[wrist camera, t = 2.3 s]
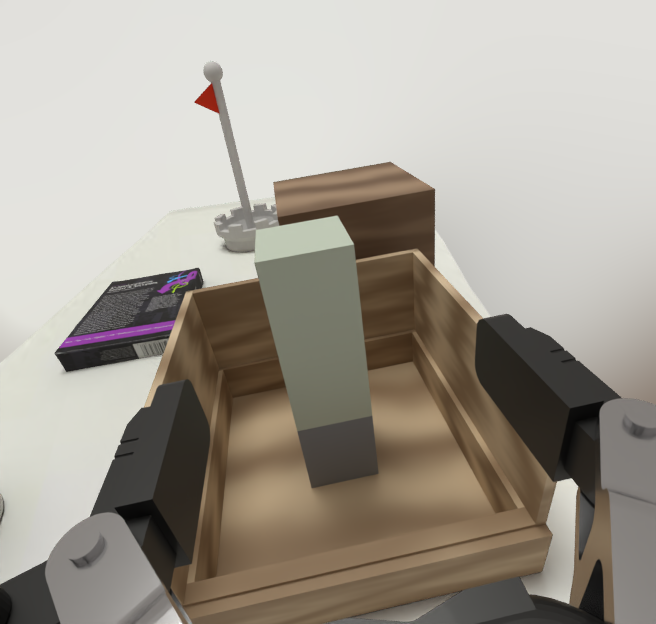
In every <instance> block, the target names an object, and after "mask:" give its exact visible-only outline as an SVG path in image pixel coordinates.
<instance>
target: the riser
mask: <svg viewBox="0 0 656 624" xmlns="http://www.w3.org/2000/svg"><path fill="white" fill-rule="evenodd" d="M274 192H275V200H276V209H277V217H278V222H279V226H282V225H288V224H293V223H299V222H304V221H310V220H315V219H321V218H327V217H332V216H338V217H339V219H340V221H341V223H342V224H343V226H344V228H345V230H346V231H347V233H348V235H349V237H350V238H351V240H352V242H353V244H354V249H355V258H356V260H358V259H363V258H369V257H374V256H379V255H385V254H390V253H395V252H401V251H406V250H412V249H418V250H419V251H420V252H421V253H422V254H423V255H424V256H425V257H426V258H427V259H428V260H429V262H430V263H431V264H432V265H433V266H434V263H435V189H434V188H432V187H430V186H429V185H427V184H426V183H424V182H422V181H420V180H419V179H417V178H416V177H414V176H413V175H411V174H409V173H408V172H406V171H404V170H403V169H401V168H399V167H398V166H396V165H394V164H393V163H391V162H387V163H381V164H376V165H370V166H364V167H359V168H353V169H347V170H342V171H335V172H329V173H324V174H318V175H312V176H306V177H301V178H295V179H289V180H283V181H278V182H274Z"/></svg>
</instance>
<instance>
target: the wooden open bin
mask: <svg viewBox="0 0 656 624" xmlns="http://www.w3.org/2000/svg"><path fill="white" fill-rule="evenodd" d="M356 268H357V277H358V286H359V296H360V305H361V314H362V324H363V333H364V342H365V352H366V361H367V370H368V379H369V389H370V398H371V407H372V417H373V426H374V435H375V445H376V454H377V463H378V472H379V474H375V475H371V476H366V477H362V478H357V479H352V480H348V481H343V482H339V483H334V484H329V485H325V486H320V487H316V488H311V484H310V480H309V476H308V472H307V468H306V464H305V460H304V456H303V452H302V448H301V444H300V440H299V436H298V432H297V428H296V425H295V421H294V417H293V413H292V409H291V405H290V401H289V397H288V393H287V389H286V385H285V381H284V377H283V373H282V369H281V365H280V361H279V358H278V354H277V350H276V346H275V342H274V338H273V334H272V330H271V326H270V322H269V318H268V314H267V310H266V306H265V302H264V298H263V294H262V290H261V287H260V283H259V279H258V278H256V279H251V280H245V281H240V282H235V283H229V284H224V285H218V286H213V287H208V288H202V289H197V290H192V291H186V293H185V296H184V299H183V302H182V304H181V307H180V310H179V312H178V315H177V318H176V321H175V323H174V326H173V329H172V332H171V334H170V337H169V340H168V343H167V345H166V348H165V351H164V354H163V356H162V359H161V362H160V365H159V367H158V370H157V373H156V376H155V378H154V381H153V384H152V387H151V389H150V392H149V395H148V398H147V400H146V403H145V406H144V408H145V407H150V406H151V403H152V400H153V397H154V394H155V392H156V389H157V387H158V386H159V385H162V384H167V383H171V382H176V381H181V380H186V379H188V380H190V381H191V383H192V385H193V387H194V389H195V392H196V394H197V396H198V399H199V401H200V403H201V406H202V408H203V411H204V413H205V415H206V418H207V420H208V424H209V428H210V447H209V454H208V460H207V467H206V473H205V480H204V487H203V493H202V500H201V507H200V513H199V520H198V527H197V533H196V540H195V546H194V553H193V560H192V564H190V565H185V566H181V567H177V568H174V572H173V578H172V583H171V588H172V589H173V591H174V592H175V594H176V596H177V597H178V599H179V601H180V602H181V604H182V606H183V607H184V609H185V610H186V612H187V614H188V615H189V617H190V619H191V620H192V622H193V624H323V623H327V622H332V621H336V620H340V619H344V618H348V617H353V616H357V615H361V614H365V613H369V612H374V611H378V610H382V609H386V608H391V607H395V606H399V605H403V604H407V603H412V602H416V601H420V600H424V599H428V598H433V597H437V596H441V595H445V594H450V593H454V592H458V591H462V590H465V589H469V588H473V587H477V586H481V585H486V584H490V583H494V582H498V581H502V580H506V579H510V578H514V577H521V576H525V575H530V574H534V573H538V572H542V570H543V567H544V563H545V560H546V557H547V553H548V550H549V546H550V543H551V539H552V536H553V534H552V533H551V531H550V530H549V528H548V527H547V525H546V521H547V517H548V513H549V510H550V506H551V502H552V498H553V495H554V491H555V487H556V483H557V481H556V482H553V481H552V480H551V479H550V477H549V476H548V474H547V473H546V472H545V470H544V469H543V468H542V466H541V465H540V464H539V462H538V461H537V460H536V458H535V457H534V456H533V454H532V453H531V451H530V450H529V449H528V447H527V446H526V445H525V443H524V442H523V441H522V439H521V438H520V437H519V435H518V434H517V433H516V431H515V430H514V428H513V427H512V426H511V424H510V423H509V422H508V420H507V419H506V418H505V416H504V415H503V414H502V412H501V411H500V410H499V408H498V407H497V406H496V404H495V403H494V401H493V400H492V399H491V397H490V396H489V395H488V393H487V392H486V391H485V389H484V388H483V387H482V385H481V384H480V382H479V380H478V377H477V374H476V370H475V348H476V329H477V323H478V321H479V320H480V319H483V318H482V317H481V316H480V315H479V314H478V312H477V311H476V310H475V309H474V308H473V307H472V306H471V305H470V304H469V303H468V302H467V301H466V300H465V299H464V298H463V297H462V296H461V294H460V293H459V292H458V291H457V290H456V289H455V288H454V287H453V286H452V285H451V284H450V283H449V282H448V281H447V280H446V279H445V277H444V276H443V275H442V274H441V273H440V272H439V271H438V270H437V269H436V268H435V267H434V266H433V265H432V264H431V263H430V262H429V260H428V259H427V258H426V257H425V256H424V255H423V254H422V253H421V252H420V251H419V250H418V249H412V250H406V251H401V252H395V253H390V254H385V255H379V256H374V257H369V258H363V259H358V260H356Z"/></svg>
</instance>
